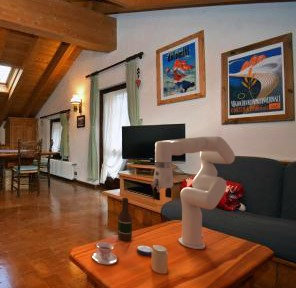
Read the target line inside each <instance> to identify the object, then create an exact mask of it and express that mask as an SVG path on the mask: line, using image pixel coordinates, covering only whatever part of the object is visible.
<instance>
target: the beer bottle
mask: <svg viewBox="0 0 296 288" xmlns="http://www.w3.org/2000/svg"><path fill="white" fill-rule="evenodd" d="M121 202H122V203H121V211H120V212H119V215H118V219H117V238H118V240H119V241H121V242H125V243H127V242H131V241H132V239H133V218H132V215H131V213H130V211H129V210H130V209H129V198H127V197H122V199H121Z"/></svg>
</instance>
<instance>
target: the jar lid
mask: <svg viewBox="0 0 296 288" xmlns="http://www.w3.org/2000/svg"><path fill="white" fill-rule="evenodd" d="M152 249H153V248H151V247H150V246H147V245H143V244H142V245H138V246H137V250H136V251H137V254H139V255H141V256H144V257H151V256H152Z"/></svg>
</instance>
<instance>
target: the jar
mask: <svg viewBox="0 0 296 288" xmlns="http://www.w3.org/2000/svg"><path fill="white" fill-rule="evenodd" d="M151 249H152V255H151V256H150V257H151V263H150V264H151V265H150V268H151V270H152V271H153V272H155V273H157V274H162V275H163V274H167V273H168V271H169V269H168V267H169V266H168V263H169V257H168V256H169V253H168V250H167V248H166V247H165V246H163V245H160V244H155V245H153V246H152V248H151Z"/></svg>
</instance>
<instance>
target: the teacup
mask: <svg viewBox="0 0 296 288" xmlns="http://www.w3.org/2000/svg"><path fill="white" fill-rule="evenodd" d="M114 248H115V246H114V244H112V243H111V242H107V241H99V242H97V243H96V244H94V249H95V250H96V251H95V252H94V253H92V257H91V258H92V260H93V261H94V262H96V263H97V264H101V265H108V266H109V265H114V264H116V263H117V261H118V256H117V255H116V254H114V253H113V252H112V251H113V249H114Z"/></svg>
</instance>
